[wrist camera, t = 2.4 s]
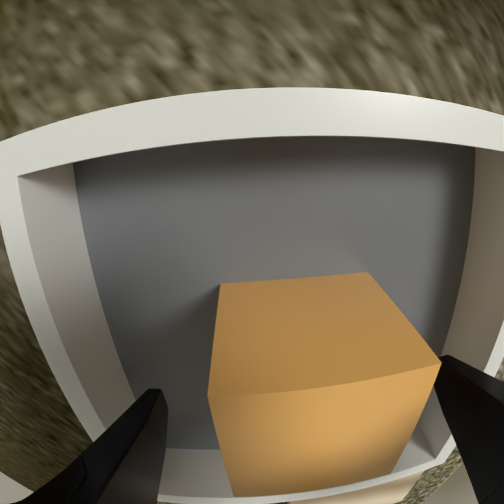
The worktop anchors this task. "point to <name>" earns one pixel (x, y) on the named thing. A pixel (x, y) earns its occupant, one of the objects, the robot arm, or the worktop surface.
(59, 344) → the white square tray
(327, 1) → the worktop surface
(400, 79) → the worktop surface
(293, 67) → the worktop surface
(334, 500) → the pad
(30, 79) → the worktop surface
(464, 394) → the robot arm
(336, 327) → the block
